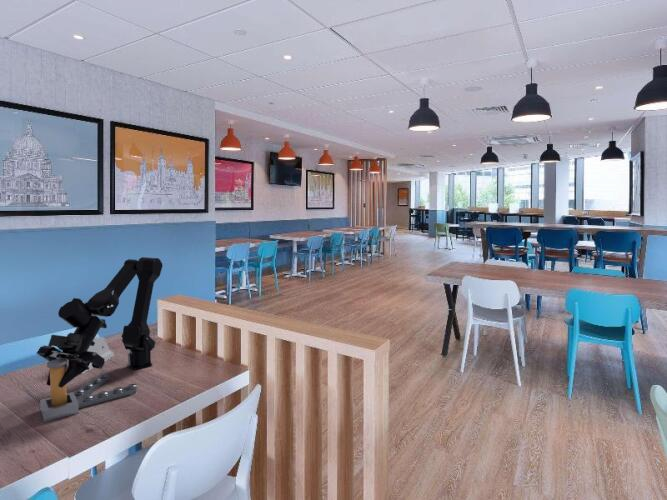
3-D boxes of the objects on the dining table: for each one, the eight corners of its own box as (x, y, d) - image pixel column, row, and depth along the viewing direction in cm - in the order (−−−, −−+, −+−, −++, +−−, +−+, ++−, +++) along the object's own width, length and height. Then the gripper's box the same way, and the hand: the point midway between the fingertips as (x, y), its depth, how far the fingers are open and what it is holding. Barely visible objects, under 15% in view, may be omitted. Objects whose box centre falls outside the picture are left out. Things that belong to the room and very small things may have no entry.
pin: (59, 401, 118) (57, 357, 116) (73, 403, 117) (70, 359, 115) (45, 408, 113) (42, 364, 112) (59, 411, 112) (56, 366, 111)
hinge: (81, 374, 139) (71, 346, 138) (70, 377, 140) (60, 350, 139) (115, 356, 155) (106, 331, 155) (105, 359, 156) (96, 334, 156)
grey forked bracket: (123, 374, 140) (123, 365, 140) (140, 395, 125) (140, 386, 125) (36, 394, 124) (35, 385, 124) (44, 422, 110) (43, 411, 109)
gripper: (40, 318, 118) (4, 370, 109) (95, 325, 114) (63, 379, 105) (65, 336, 127) (34, 385, 117) (117, 342, 122) (89, 394, 113)
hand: (54, 386), depth 113 cm, fingers closed on pin, 4 cm apart
